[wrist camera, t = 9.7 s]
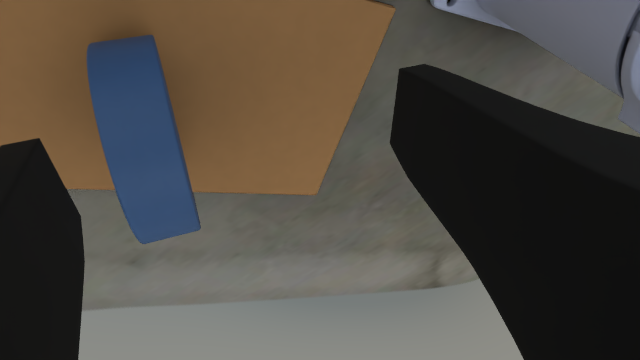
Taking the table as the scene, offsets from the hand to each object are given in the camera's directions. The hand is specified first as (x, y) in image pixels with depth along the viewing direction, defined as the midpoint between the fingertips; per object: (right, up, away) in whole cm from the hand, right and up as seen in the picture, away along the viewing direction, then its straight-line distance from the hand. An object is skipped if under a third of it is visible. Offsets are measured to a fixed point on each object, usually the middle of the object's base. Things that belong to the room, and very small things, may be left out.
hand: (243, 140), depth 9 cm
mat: (-6, +3, +9) cm, 11 cm away
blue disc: (-4, +1, +7) cm, 8 cm away
